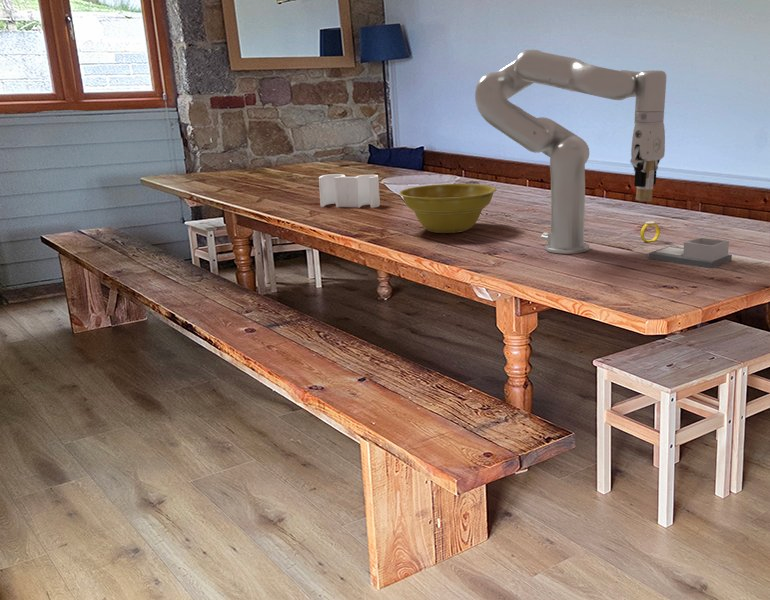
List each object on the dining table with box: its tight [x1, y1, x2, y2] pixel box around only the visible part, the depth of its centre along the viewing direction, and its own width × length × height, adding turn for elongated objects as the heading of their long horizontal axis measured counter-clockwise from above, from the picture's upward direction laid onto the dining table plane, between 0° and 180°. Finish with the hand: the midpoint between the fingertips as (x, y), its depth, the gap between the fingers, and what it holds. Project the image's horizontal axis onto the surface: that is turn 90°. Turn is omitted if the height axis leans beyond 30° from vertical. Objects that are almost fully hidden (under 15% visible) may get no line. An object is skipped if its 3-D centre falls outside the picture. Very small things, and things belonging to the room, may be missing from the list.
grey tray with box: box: [647, 236, 733, 269], centre depth 219 cm, size 18×11×6 cm, turn 42°
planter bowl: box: [398, 183, 497, 234], centre depth 272 cm, size 32×32×13 cm
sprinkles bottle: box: [635, 158, 655, 202], centre depth 225 cm, size 5×5×14 cm
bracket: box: [318, 173, 381, 209], centre depth 329 cm, size 25×10×12 cm, turn 67°
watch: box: [639, 220, 661, 243], centre depth 242 cm, size 6×3×6 cm, turn 110°
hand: (644, 184), depth 226 cm, fingers closed on sprinkles bottle, 4 cm apart
